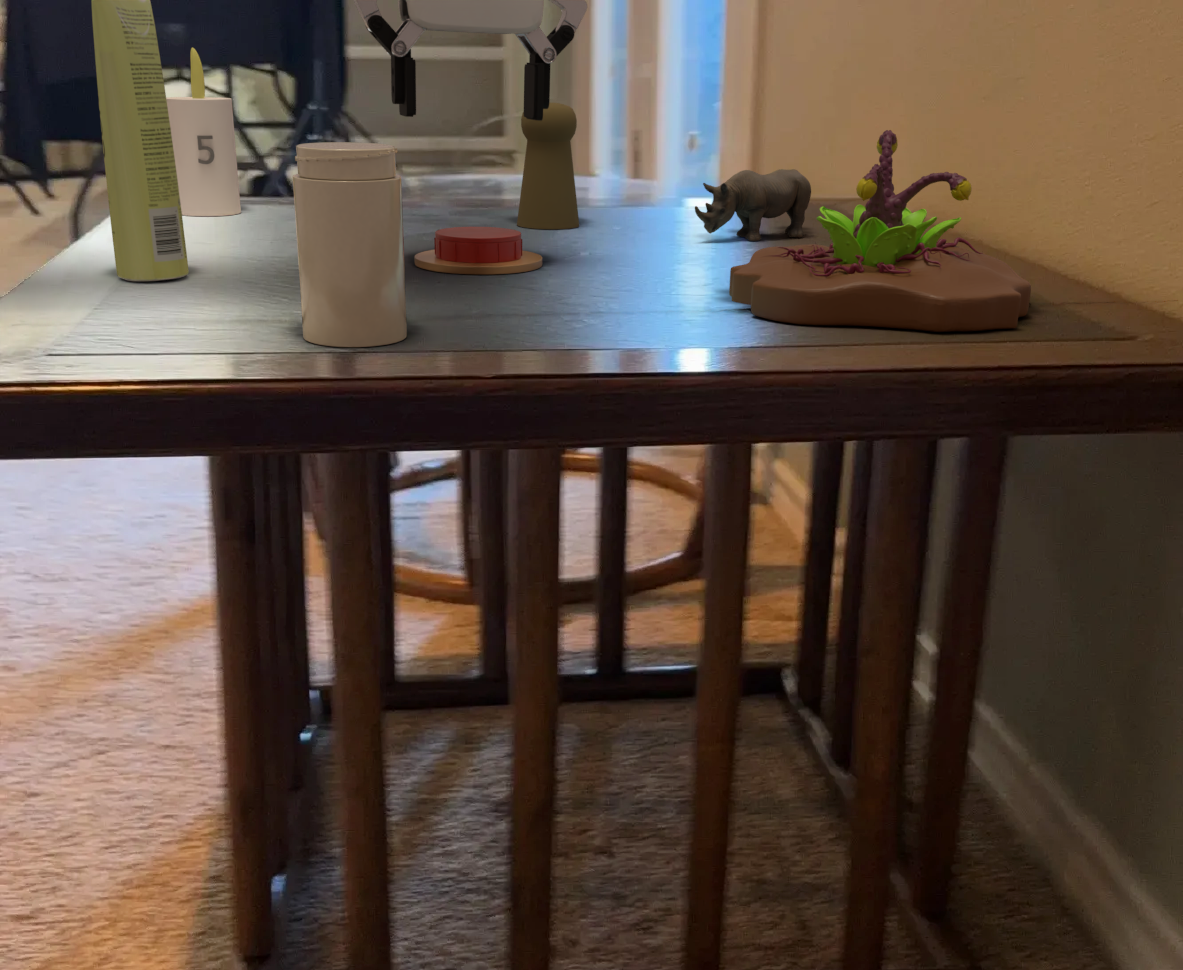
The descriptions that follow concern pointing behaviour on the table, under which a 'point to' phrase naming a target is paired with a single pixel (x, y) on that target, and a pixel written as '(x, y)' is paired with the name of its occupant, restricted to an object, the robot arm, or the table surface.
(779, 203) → the rhino figurine
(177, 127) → the candle
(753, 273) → the plant
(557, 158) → the pepper shaker
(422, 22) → the robot arm
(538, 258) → the coaster
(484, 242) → the lid
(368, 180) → the jar
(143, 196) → the tube
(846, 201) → the table surface
